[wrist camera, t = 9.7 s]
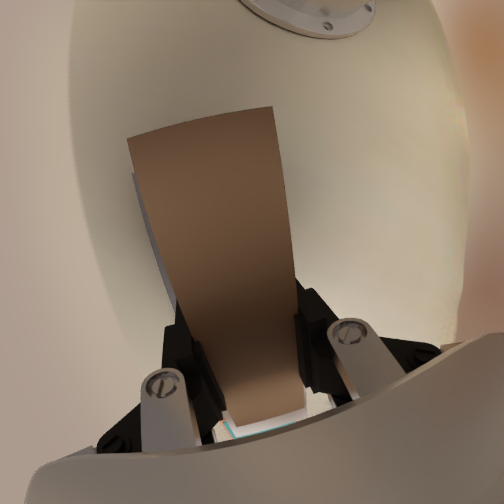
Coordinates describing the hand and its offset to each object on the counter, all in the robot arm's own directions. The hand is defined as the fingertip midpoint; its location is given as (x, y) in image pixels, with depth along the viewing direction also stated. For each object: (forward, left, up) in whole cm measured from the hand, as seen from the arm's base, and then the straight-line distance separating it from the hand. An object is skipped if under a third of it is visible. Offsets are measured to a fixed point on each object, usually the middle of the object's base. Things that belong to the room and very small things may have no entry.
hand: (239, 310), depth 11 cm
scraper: (+2, 0, -1) cm, 2 cm away
